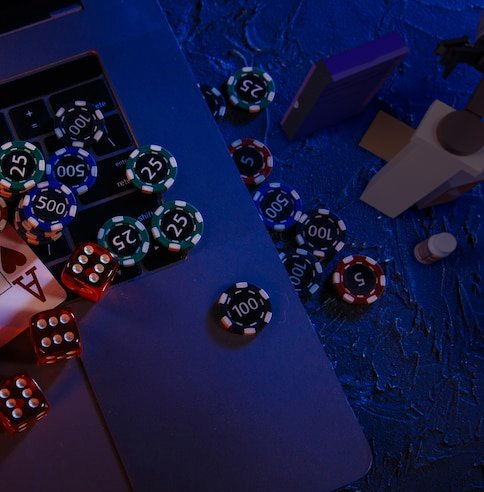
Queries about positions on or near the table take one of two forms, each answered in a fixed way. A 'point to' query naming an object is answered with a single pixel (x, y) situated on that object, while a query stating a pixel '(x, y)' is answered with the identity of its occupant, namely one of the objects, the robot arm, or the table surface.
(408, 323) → the table surface
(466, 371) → the table surface
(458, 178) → the small box
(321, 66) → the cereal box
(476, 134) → the paddle
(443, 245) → the pill bottle
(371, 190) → the stand
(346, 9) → the table surface
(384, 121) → the mat
